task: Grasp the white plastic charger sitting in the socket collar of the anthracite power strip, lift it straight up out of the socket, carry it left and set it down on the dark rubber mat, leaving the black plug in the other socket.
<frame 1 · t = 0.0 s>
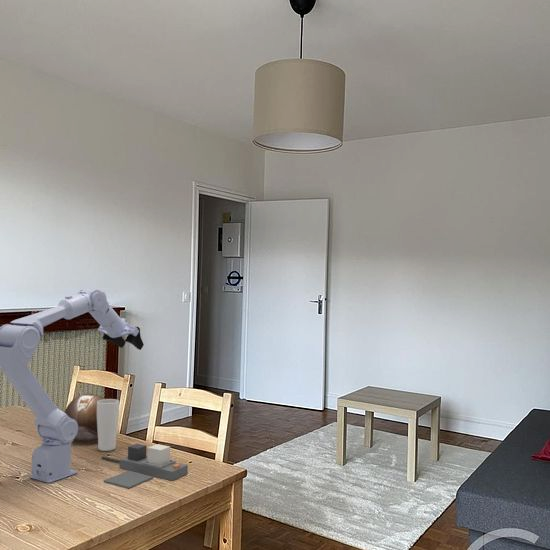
hand: (132, 346, 174), 32 cm above the table, tool tilted 50°, fingers open, 7 cm apart
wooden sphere: (87, 440, 183), on the table
felt mat: (128, 480, 147), on the table
power strip: (153, 470, 155), on the table
drinking glass: (106, 449, 174), on the table
charger: (158, 463, 154), point 2 cm above the table, touching power strip
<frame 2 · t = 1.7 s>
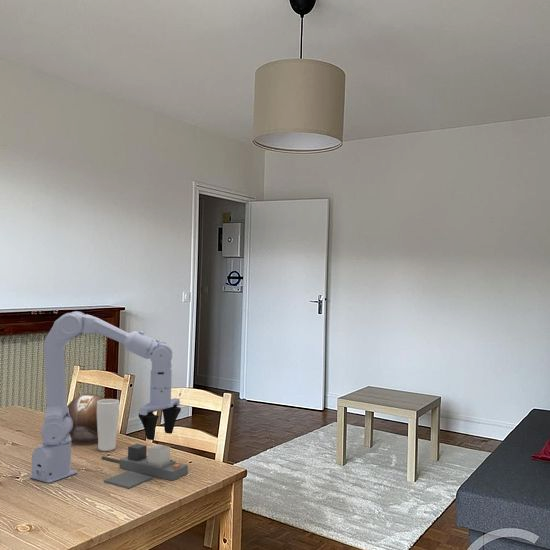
hand: (159, 436, 154), 10 cm above the table, tool pointing down, fingers open, 7 cm apart
nothing on the table moved.
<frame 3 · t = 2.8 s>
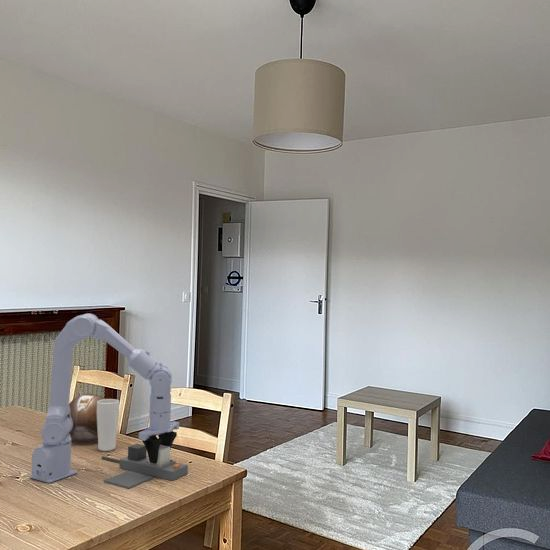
hand: (158, 460, 154), 3 cm above the table, tool pointing down, fingers closed on charger, 4 cm apart
charger: (158, 463, 154), point 2 cm above the table, touching gripper, power strip
everything else where it was.
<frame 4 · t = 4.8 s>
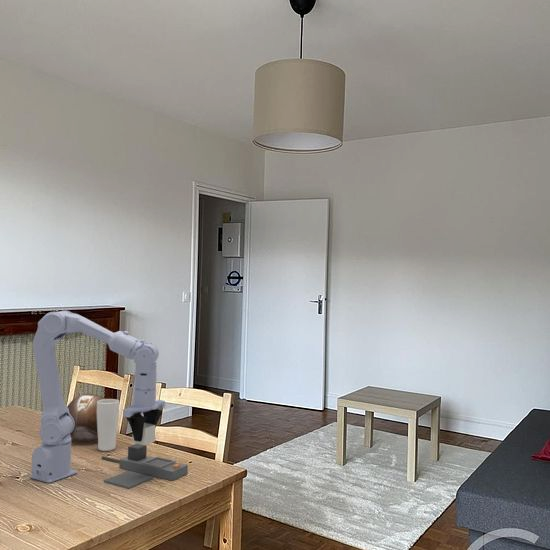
hand: (143, 438, 150), 10 cm above the table, tool pointing down, fingers closed on charger, 4 cm apart
charger: (143, 441, 150), point 9 cm above the table, touching gripper
everything else where it was.
when the fingers open (2 cm above the table, at t = 7.0 s): charger stays where it is, resting on felt mat.
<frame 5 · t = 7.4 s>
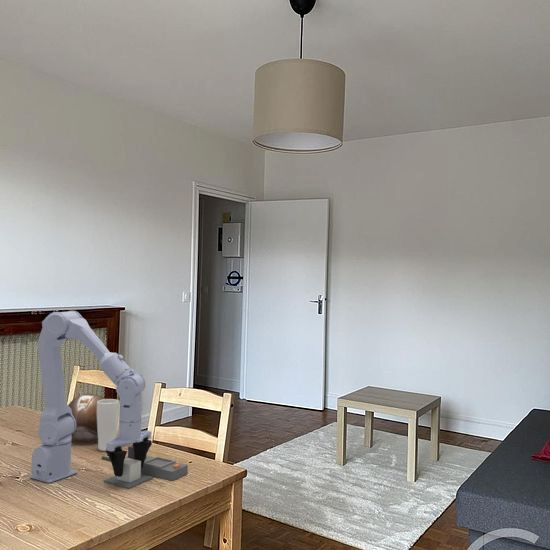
hand: (128, 471, 147), 2 cm above the table, tool pointing down, fingers open, 7 cm apart
charger: (128, 478, 147), resting on felt mat
everything else where it was.
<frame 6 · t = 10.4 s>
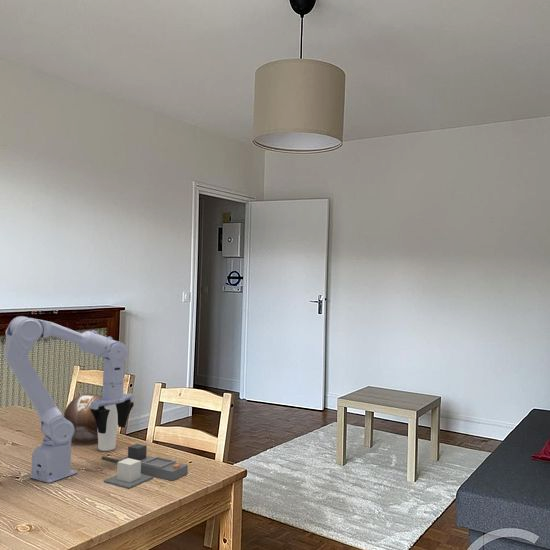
hand: (112, 430, 159), 10 cm above the table, tool pointing down, fingers open, 7 cm apart
nothing on the table moved.
at the end: charger inside the target area on the felt mat (0.0 cm from its centre), point 0.4 cm above the felt mat's base; charger touching felt mat; charger tilted 0° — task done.
